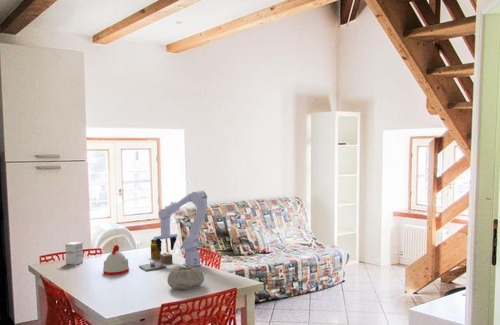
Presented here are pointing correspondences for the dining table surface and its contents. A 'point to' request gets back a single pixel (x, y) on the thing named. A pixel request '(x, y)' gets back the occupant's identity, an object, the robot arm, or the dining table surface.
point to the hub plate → (152, 266)
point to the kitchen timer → (115, 263)
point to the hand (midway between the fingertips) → (166, 250)
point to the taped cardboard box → (166, 258)
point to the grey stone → (185, 278)
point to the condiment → (154, 250)
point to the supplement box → (74, 253)
